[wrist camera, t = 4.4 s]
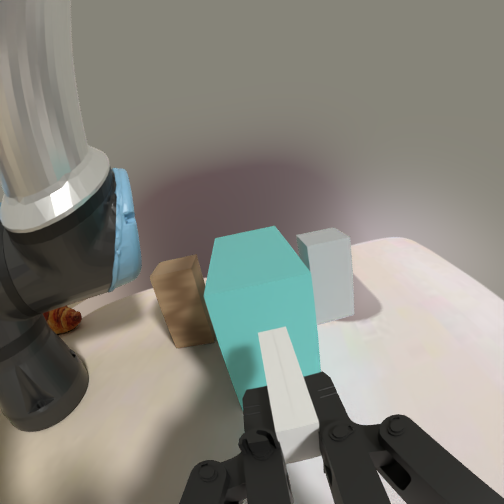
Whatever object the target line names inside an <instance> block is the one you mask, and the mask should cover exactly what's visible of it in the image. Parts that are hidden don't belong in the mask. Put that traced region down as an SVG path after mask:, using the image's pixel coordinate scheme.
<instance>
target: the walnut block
mask: <svg viewBox="0 0 504 504" xmlns="http://www.w3.org/2000/svg"><path fill="white" fill-rule="evenodd" d="M150 280H151V283H152V285H153V288H154V291H155V294H156V297H157V300H158V302H159V305H160V308H161V311H162V313H163V316H164V318H165V321H166V324H167V326H168V329H169V331H170V334H171V336H172V339H173V341H174V343H175V346H176V348H182V347H189V346H196V345H202V344H208V343H214V341H215V331H214V328H213V325H212V322H211V318H210V315H209V312H208V309H207V306H206V302H205V299H204V291H205V283H204V280H203V276H202V273H201V269H200V266H199V262H198V259H197V255H192V256H187V257H183V258H178V259H173V260H168V261H164V262H160V263H159V264H158V266H157V267H156V269H155V270H154V271H153V273H152V274H151V276H150Z"/></svg>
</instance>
